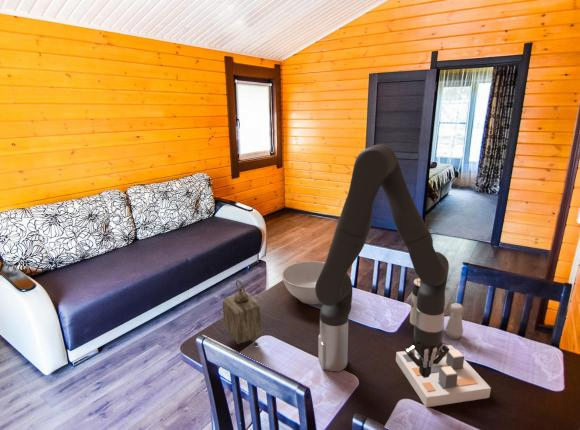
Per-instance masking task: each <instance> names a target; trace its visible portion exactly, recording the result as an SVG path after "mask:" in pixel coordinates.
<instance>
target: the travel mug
mask: <svg viewBox="0 0 580 430" xmlns="http://www.w3.org/2000/svg"><path fill="white" fill-rule="evenodd" d="M420 283H421V280H420V279H419V277H418V278H415V279H414V280H413V284H414V285H413V286H412V288H411V289H412V290H411V302H410V314H409V323H410V324H411V326H414V319H415V312H416V307H417V294H418V290H419V287H420Z"/></svg>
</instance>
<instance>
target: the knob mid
mask: <svg viewBox="0 0 580 430" xmlns="http://www.w3.org/2000/svg"><path fill="white" fill-rule="evenodd" d="M464 359H465V356H464V355H463V354H462V353H461V352H460V351H459V350H458V349H455V350H451V351H448V353H447V358H446V363H447V364H448V366H451V367H452V368H453V370H457V369H463V363H464Z"/></svg>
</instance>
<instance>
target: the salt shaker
mask: <svg viewBox="0 0 580 430" xmlns="http://www.w3.org/2000/svg"><path fill="white" fill-rule="evenodd" d="M464 308H465V307H464V306H463V305H462V304H461V303H457V302H455V303H454V302H453V303H451V305H450V311H451V313H450V316H449V319H448V322H447V324H446V327H445V332H446V334H447V337H449V339H453V340H458V339H459V338H460V337H462V335H463V334H464V328H463V327H464V326H463V318H462V317H463V316H462V314H463V312H464Z"/></svg>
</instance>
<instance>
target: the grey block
mask: <svg viewBox="0 0 580 430" xmlns="http://www.w3.org/2000/svg"><path fill="white" fill-rule="evenodd" d="M457 376H458V375H457V373H456V372H455V371H454V370H453V368H452V367H451V366H448V367H441V368H440V371H439V379H438V380H439V381H440V382H441V384H442V385H443V386H444V388H451V387H456V384H457Z"/></svg>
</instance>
